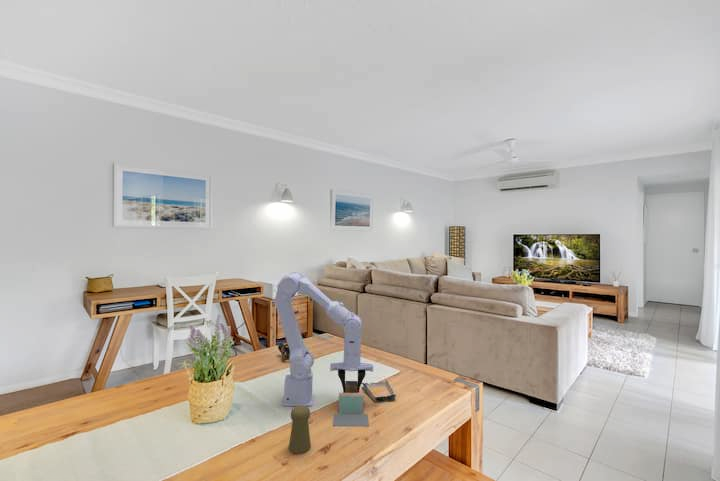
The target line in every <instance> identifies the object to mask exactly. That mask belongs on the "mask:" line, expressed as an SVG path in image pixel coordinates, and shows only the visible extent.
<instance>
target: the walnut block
mask: <svg viewBox="0 0 720 481" xmlns="http://www.w3.org/2000/svg"><path fill="white" fill-rule="evenodd" d="M357 382H358V380H345V393H357Z"/></svg>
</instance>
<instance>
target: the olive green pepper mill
mask: <svg viewBox="0 0 720 481" xmlns="http://www.w3.org/2000/svg"><path fill="white" fill-rule="evenodd" d="M310 410H311V409H310V408H309V406H303V405H300V406H293V408H292V410H291V412H290V419H291V421H292V424H291V430H290V435H289V436H290V438H289V443H288V451H289V452H290V453H291V454H293V455H303V454H306V453H308V452H310V450H311V446H312V445H311V444H312V443H311V436H310V435H311V434H310V426H309V419H310V417H311V411H310Z"/></svg>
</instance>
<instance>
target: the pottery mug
mask: <svg viewBox="0 0 720 481" xmlns="http://www.w3.org/2000/svg"><path fill="white" fill-rule="evenodd" d="M277 349H278V350H279V352H280V354H281V361H282V362H286V361H290V360H289V358H290V350H289V346H288V343H279V344H278V345H277Z"/></svg>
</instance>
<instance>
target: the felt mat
mask: <svg viewBox="0 0 720 481" xmlns="http://www.w3.org/2000/svg"><path fill="white" fill-rule="evenodd" d="M332 427H370V421H369V414H368V413H333V419H332Z"/></svg>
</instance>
